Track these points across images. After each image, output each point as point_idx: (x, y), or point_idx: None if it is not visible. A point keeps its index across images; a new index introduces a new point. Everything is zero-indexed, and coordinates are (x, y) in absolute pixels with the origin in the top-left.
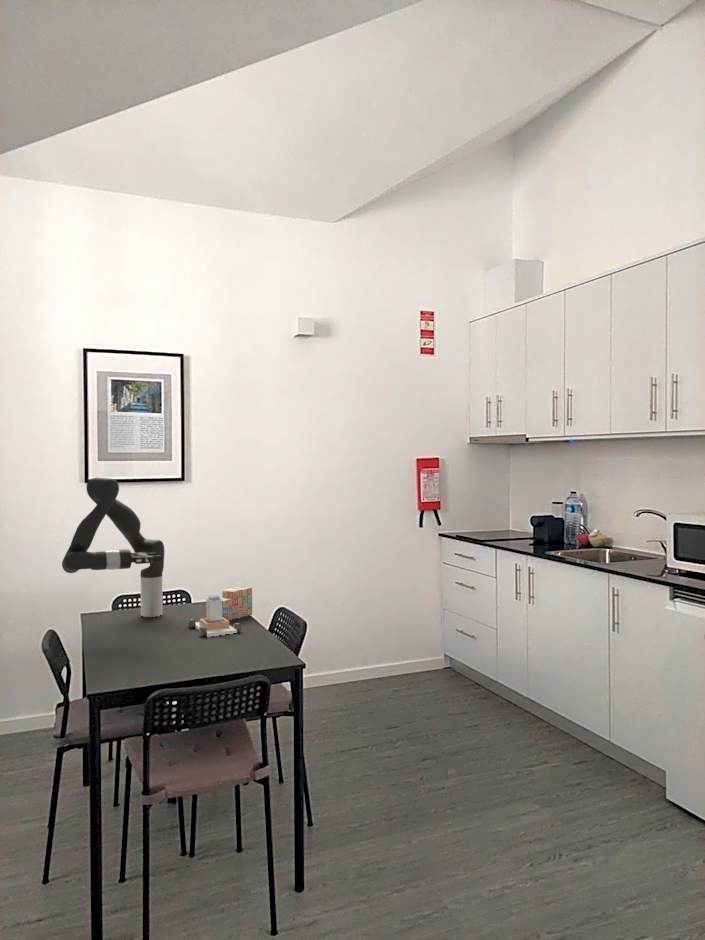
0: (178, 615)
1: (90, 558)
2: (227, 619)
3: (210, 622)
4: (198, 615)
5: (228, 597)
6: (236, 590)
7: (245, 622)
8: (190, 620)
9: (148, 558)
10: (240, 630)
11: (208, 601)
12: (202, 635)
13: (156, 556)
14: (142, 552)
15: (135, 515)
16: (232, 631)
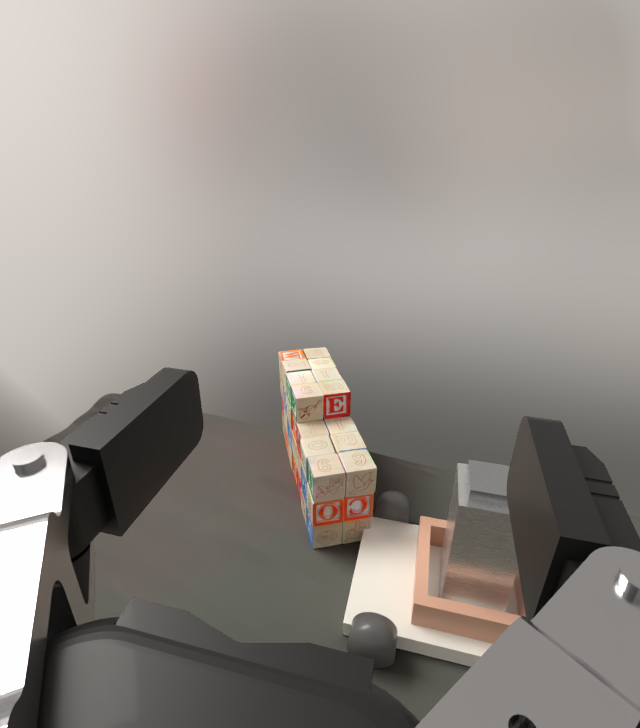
0: (107, 572)
1: None
2: (410, 507)
3: (508, 599)
4: (188, 520)
5: (328, 416)
6: (337, 379)
7: (407, 473)
8: (385, 641)
9: (131, 519)
10: None
11: (499, 519)
12: None
13: (579, 488)
14: (37, 521)
15: None
16: None
